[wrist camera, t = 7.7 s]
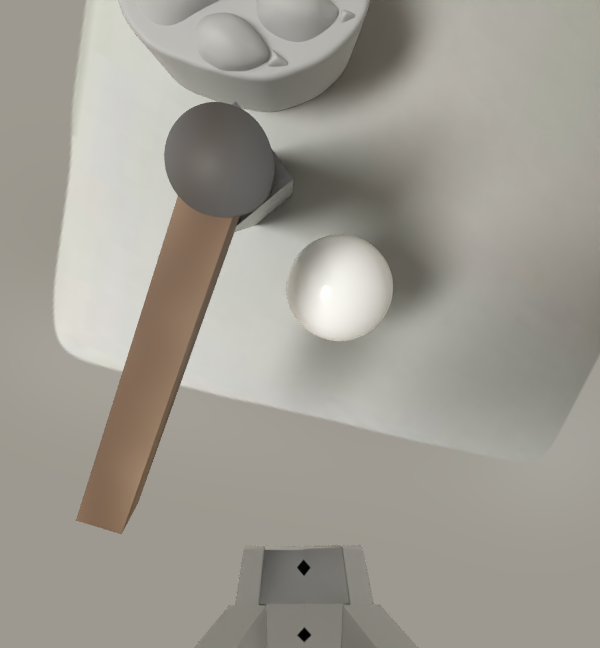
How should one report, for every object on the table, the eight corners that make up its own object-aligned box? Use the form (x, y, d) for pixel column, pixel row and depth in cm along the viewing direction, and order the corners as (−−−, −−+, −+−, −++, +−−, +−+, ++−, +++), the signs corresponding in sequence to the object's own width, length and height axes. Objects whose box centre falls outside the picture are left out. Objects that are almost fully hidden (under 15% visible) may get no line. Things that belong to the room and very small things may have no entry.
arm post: (261, 154, 30) (235, 101, 16) (292, 194, 30) (293, 178, 16) (224, 186, 30) (167, 162, 16) (255, 225, 31) (226, 234, 17)
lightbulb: (307, 215, 31) (315, 216, 20) (381, 249, 32) (427, 267, 21) (274, 291, 32) (267, 329, 22) (346, 321, 33) (373, 373, 22)
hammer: (289, 142, 16) (288, 129, 13) (156, 503, 20) (136, 544, 18) (201, 104, 15) (183, 83, 13) (83, 480, 20) (53, 519, 17)
